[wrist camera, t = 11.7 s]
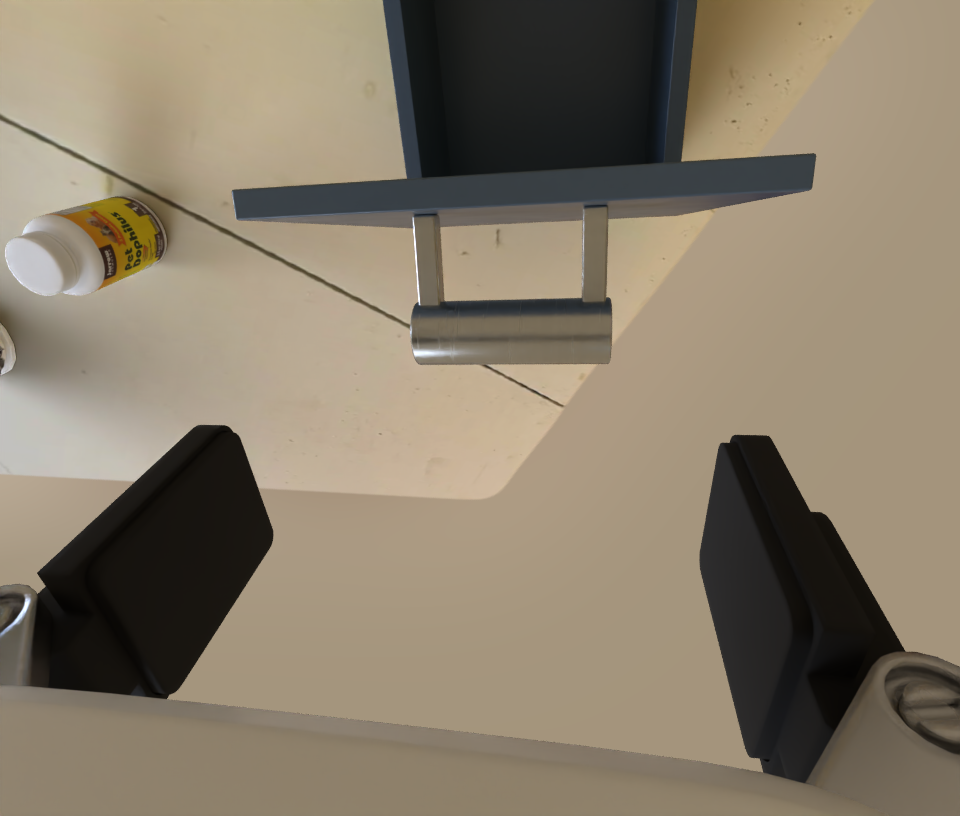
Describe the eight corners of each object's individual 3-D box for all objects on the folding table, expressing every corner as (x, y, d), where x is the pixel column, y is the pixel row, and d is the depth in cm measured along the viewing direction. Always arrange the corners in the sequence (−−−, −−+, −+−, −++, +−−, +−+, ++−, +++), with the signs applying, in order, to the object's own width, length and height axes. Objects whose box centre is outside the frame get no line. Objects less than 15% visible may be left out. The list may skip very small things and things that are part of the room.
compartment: (409, -123, 31) (357, -186, 24) (683, -166, 29) (722, -251, 21) (442, 191, 40) (412, 219, 32) (656, 179, 37) (676, 205, 30)
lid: (230, 189, 15) (261, 380, 17) (817, 152, 13) (788, 380, 14) (409, 213, 32) (416, 308, 33) (678, 199, 29) (672, 302, 31)
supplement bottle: (181, 261, 46) (89, 305, 37) (123, 266, 47) (21, 311, 38) (153, 190, 43) (46, 220, 34) (92, 197, 44) (-26, 228, 35)
